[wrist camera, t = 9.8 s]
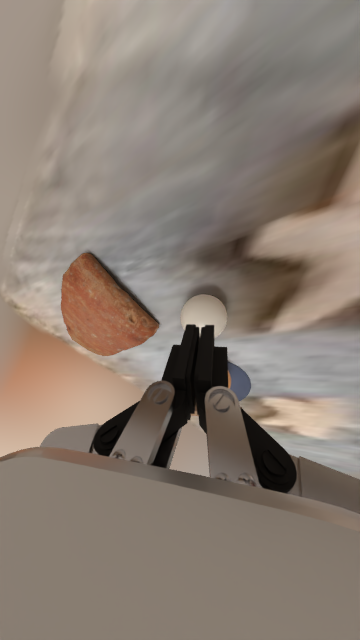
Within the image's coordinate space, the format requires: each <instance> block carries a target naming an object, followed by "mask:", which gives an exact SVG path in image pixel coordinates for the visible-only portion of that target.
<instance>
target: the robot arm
mask: <svg viewBox="0 0 360 640" xmlns="http://www.w3.org/2000/svg"><path fill="white" fill-rule="evenodd" d="M195 407H197V415H199V424H200V426H201V428H202V429H203V430H204V431H205V433H206V434H207V446H208V459H209V473H210V477H206V476H201V475H195V474H191V473H186V472H181V471H176V470H171V469H169V468H170V465H171V461H172V458H173V455H174V452H175V449H176V446H177V443H178V439H179V436H180V433H181V429H182V426H184V425H185V424H187V420H190V417H191V414H195ZM0 640H360V480H359V479H357V478H354V477H352V476H349V475H347V474H344V473H342V472H339V471H336V470H334V469H331V468H329V467H326V466H324V465H321V464H319V463H316V462H313V461H311V460H308V459H306V458H303V457H301V456H299V458H297V457H295V456H292V455H290V454H288V453H287V452H286V450H285V449H284V448H283V447H281V446H280V445H279V444H278V443H277V442H276V441H275V440H274V439H273V438H272V437H271V436H270V435H269V434H268V433H267V432H266V431H265V430H264V429H263V428H261V427H260V426H259V425H258V424H257V423H256V422H255V421H254V420H253V419H252V418H251V417H250V416H249V415H248V414H247V413H246V412H245V411H244V410H243V409H241V408H240V405H239V401H238V398H237V396H236V394H235V393H234V392H233V391H232V390H231V389H229V388H228V360H227V347H214V325H205V327H202V328H201V334H200V333H199V327H196V325H195V324H187V325H186V328H185V332H184V335H183V339H182V343H181V345H173V347H172V350H171V353H170V356H169V359H168V362H167V365H166V368H165V371H164V374H163V377H162V380H161V381H157V382H154V383H152V384H151V385H150V386H149V387H148V388H147V389H146V391H145V393H144V395H143V396H142V398H141V400H140V401H139V402H137V403H136V404H134V405H132V406H131V407H129V408H128V409H126V410H124V411H123V412H121V413H120V414H118V415H116V416H115V417H113V418H112V419H110V420H108V421H107V422H106V423H104V424H103V425H98V424H90V425H80V426H71V427H62V428H58V429H56V430H54V431H52V432H51V433H50V434H49V435H48V436H47V437H46V438H45V439H44V440H43V442H42V443H41V446H40V447H33V448H27V449H23V450H19V451H16V452H13V453H10V454H7V455H5V456H3V457H0Z"/></svg>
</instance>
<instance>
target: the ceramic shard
mask: <svg viewBox="0 0 360 640" xmlns="http://www.w3.org/2000/svg"><path fill="white" fill-rule="evenodd" d="M61 292H62V296H61V298H62V301H61V310H62V314H63V318H64V323H65V324H66V326H67V330H68V333H69V335H70V336H71V338H72V340H74V341H75V342H77V343H78V344H80V345H81V346H83V347H84V348H86V349H87V350H89V351H92V352H93V353H95V354H98V355H102V356H110V355H114V354H116V353H119V352H121V351H123V350H127V349H129V348H132V347H135V346H138V345H140V344H142V343H144V342H145V341H146V340H147V339H148V338H150V337H151V336H153V335H154V334H155V333H156V331H157V329H158V328H159V324H158V323H157V322H156V321H155V320H154V319H153V318H152V317H151V316H149V315H148V314H147V313H146V312H145V311H144V310H143V309H142V308H141V307H140V306H139V305H138V304H137V303H136V302H135V301H134V300H133V299H132V298H131V297H130V296H129V295H128V293H126V292H125V291H123V290H122V289H121V288H120V287H119V286H118V285H117V284H116V282H115V281H114V280H113V278H112V277H111V276H110V275H109V274H108V273H107V272H106V270H105V269H104V268H103V267H102V266H101V265H100V263H99V262H98V261H97V260H96V259H95V258H94V256H92V255H91V254H89V253H83V254H81V255H80V256H79V257H78V258H77V259H76V260H75V261H74V262H73V263H72V264H71V265H70V267H69V269H68V270H67V271H66V272H65V274H63V281H62V289H61Z"/></svg>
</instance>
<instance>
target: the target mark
mask: <svg viewBox="0 0 360 640" xmlns="http://www.w3.org/2000/svg"><path fill="white" fill-rule="evenodd" d="M228 371H229V373H230V376H231V386H230V389H231V390H232V391H233V392H234V393H235V394H236V396H237V398H238V401H241V400H242V399H244V398H245V397H246V396H247V395H248V394H249V392H250V389H251V383H250V379H249V377H248V376H247V374H246V373H245V372H244V371H243V370H242V369H241V368H239V367H238V366H236V365H234V364H232V363H229V362H228Z"/></svg>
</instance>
